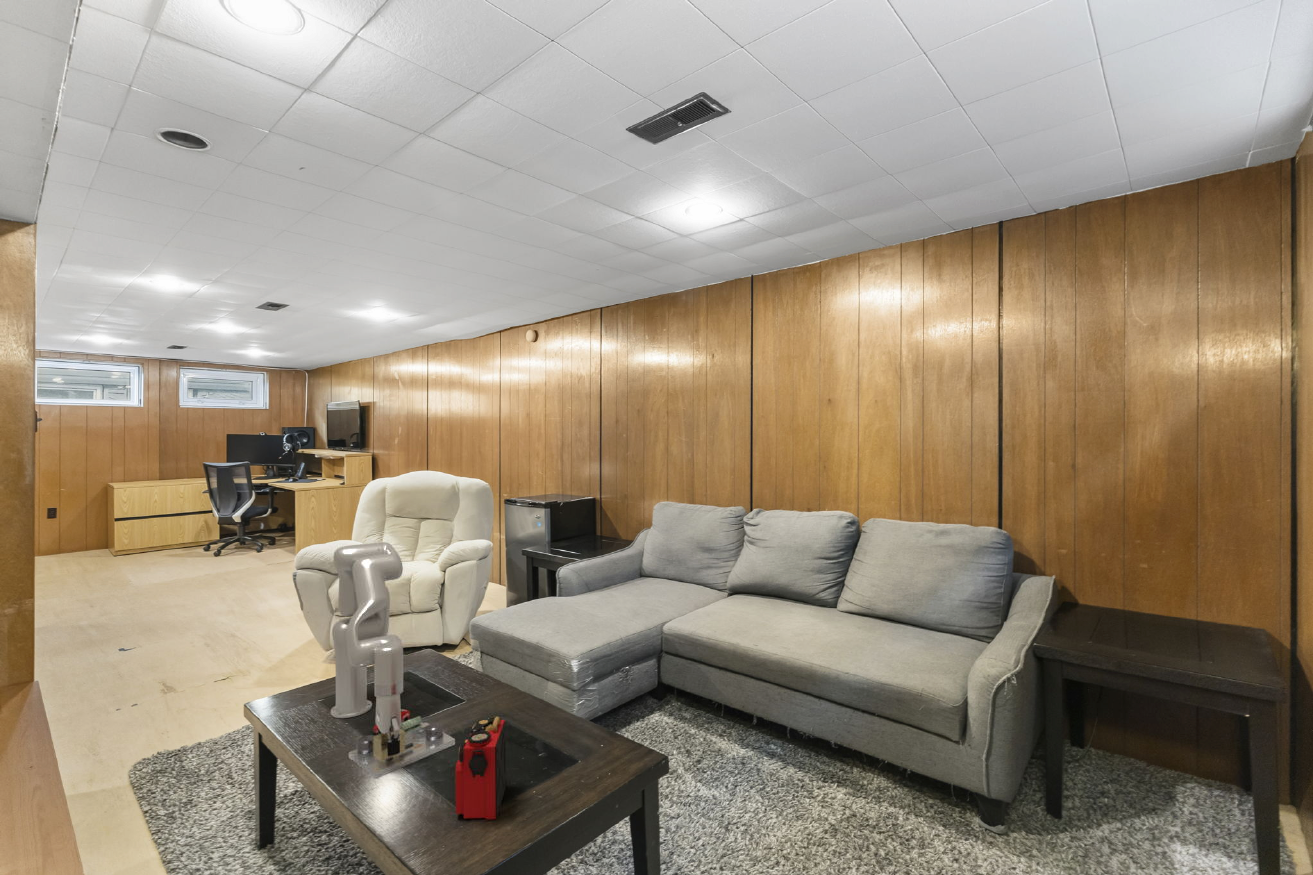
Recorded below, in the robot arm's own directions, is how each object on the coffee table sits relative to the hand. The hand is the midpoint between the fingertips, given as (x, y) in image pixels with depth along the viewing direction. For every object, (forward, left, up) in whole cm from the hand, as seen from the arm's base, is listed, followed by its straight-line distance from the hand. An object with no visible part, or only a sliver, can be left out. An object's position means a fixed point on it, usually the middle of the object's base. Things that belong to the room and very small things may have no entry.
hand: (389, 747), depth 173 cm
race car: (-22, +12, -5) cm, 25 cm away
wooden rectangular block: (0, +2, -3) cm, 3 cm away
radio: (+37, +6, -5) cm, 38 cm away
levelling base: (-4, +6, -5) cm, 9 cm away
